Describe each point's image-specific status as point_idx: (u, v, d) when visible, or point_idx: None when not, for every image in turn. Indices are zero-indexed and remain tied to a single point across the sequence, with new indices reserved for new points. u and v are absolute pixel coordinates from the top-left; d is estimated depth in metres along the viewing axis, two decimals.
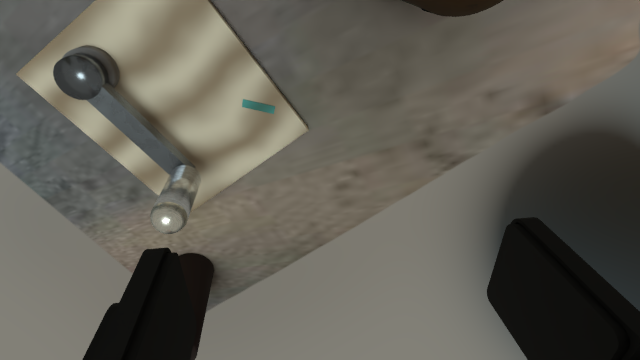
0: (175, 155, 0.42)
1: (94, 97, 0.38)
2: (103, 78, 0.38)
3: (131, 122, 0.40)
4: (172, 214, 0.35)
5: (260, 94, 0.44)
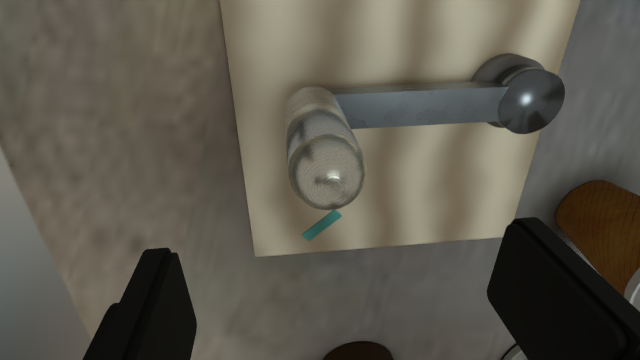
0: (355, 127, 0.24)
1: (501, 101, 0.24)
2: (500, 124, 0.26)
3: (440, 114, 0.24)
4: (339, 207, 0.16)
5: (332, 234, 0.33)
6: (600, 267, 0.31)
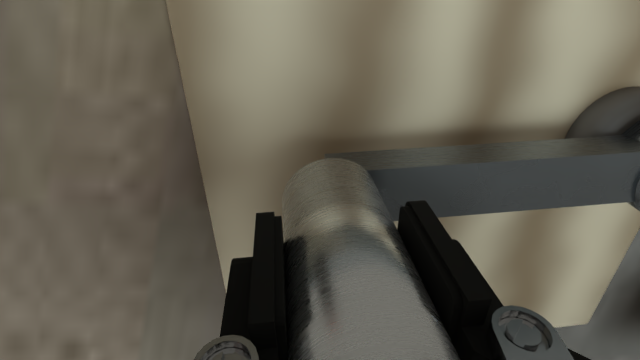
0: None
1: None
2: (627, 202, 0.16)
3: (541, 195, 0.14)
4: None
5: None
6: None
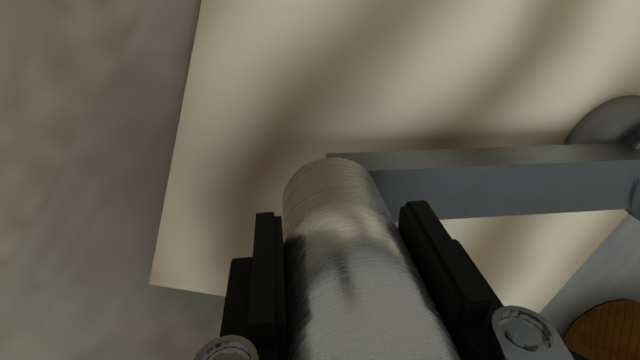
0: None
1: None
2: (624, 209, 0.16)
3: (540, 199, 0.15)
4: None
5: None
6: None
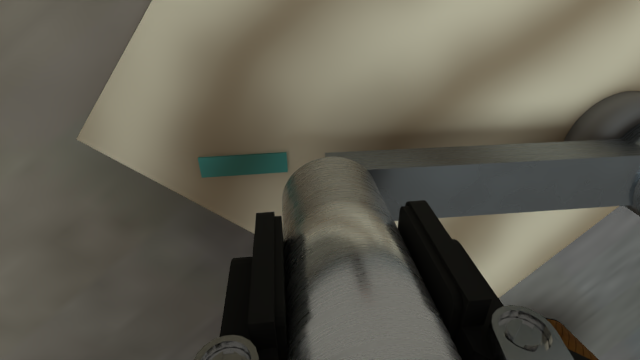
0: None
1: None
2: (625, 205, 0.16)
3: (540, 197, 0.15)
4: None
5: (249, 192, 0.17)
6: None
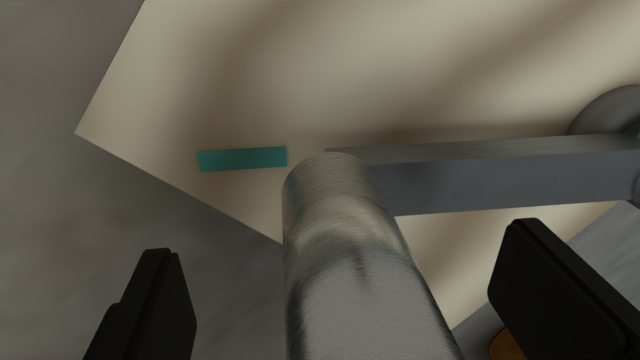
0: (399, 213, 0.14)
1: None
2: (627, 200, 0.16)
3: (541, 191, 0.14)
4: None
5: (248, 186, 0.17)
6: None
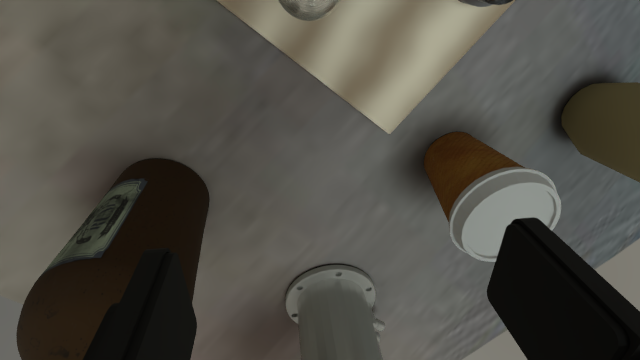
0: None
1: None
2: None
3: None
4: (320, 12, 0.17)
5: None
6: (447, 182, 0.33)
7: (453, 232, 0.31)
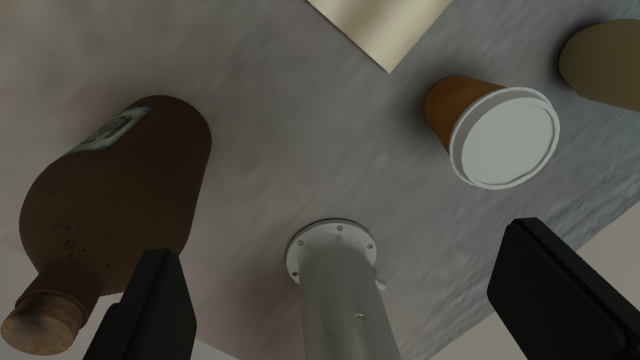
0: None
1: None
2: None
3: None
4: None
5: None
6: (446, 113, 0.34)
7: (453, 157, 0.32)
